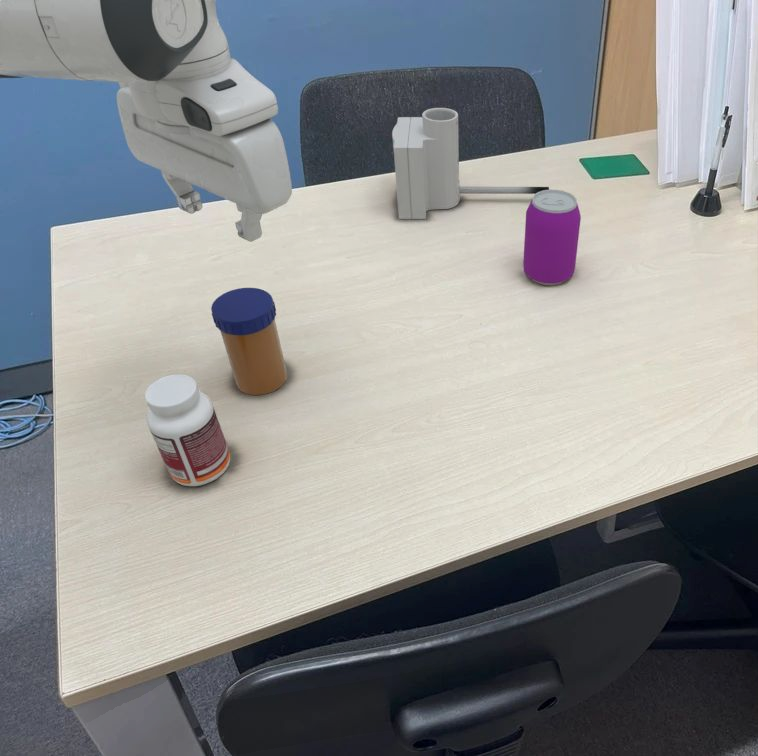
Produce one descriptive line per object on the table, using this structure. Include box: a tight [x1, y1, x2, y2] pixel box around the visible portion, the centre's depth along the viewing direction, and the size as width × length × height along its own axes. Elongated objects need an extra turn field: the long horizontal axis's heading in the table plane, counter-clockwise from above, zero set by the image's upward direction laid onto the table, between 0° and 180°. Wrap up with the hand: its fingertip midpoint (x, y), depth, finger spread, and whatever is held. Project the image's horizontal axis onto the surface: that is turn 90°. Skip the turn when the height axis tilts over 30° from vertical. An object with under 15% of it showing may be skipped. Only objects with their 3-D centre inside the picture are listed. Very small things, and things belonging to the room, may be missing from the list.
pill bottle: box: [144, 373, 231, 487], centre depth 71 cm, size 6×6×11 cm
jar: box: [219, 319, 288, 396], centre depth 82 cm, size 6×6×11 cm
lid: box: [210, 287, 277, 335], centre depth 79 cm, size 7×7×2 cm
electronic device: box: [391, 107, 550, 220], centre depth 116 cm, size 12×26×15 cm, turn 93°
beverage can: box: [522, 189, 582, 286], centre depth 101 cm, size 8×8×12 cm
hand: (220, 223), depth 71 cm, fingers open, 8 cm apart
